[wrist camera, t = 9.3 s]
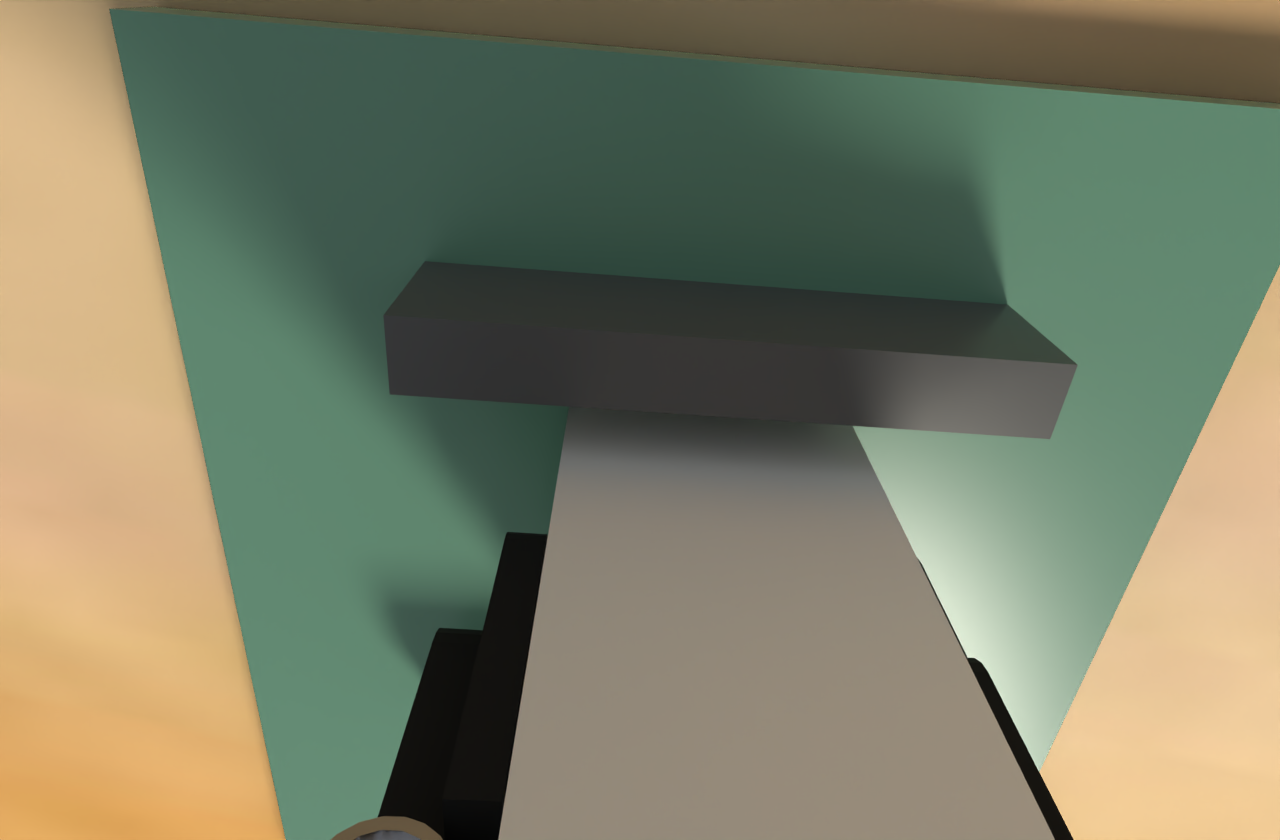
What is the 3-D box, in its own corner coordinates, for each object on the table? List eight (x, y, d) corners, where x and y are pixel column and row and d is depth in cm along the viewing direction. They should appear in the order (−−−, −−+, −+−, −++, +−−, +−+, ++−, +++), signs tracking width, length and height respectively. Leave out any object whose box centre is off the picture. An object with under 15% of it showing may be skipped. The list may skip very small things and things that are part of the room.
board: (1292, 105, 11) (1505, 143, 8) (945, 896, 19) (993, 1039, 17) (154, 6, 10) (-14, 14, 8) (316, 868, 19) (264, 1012, 16)
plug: (845, 411, 12) (1164, 1058, 5) (774, 722, 15) (899, 1391, 8) (571, 392, 12) (466, 1031, 4) (558, 710, 15) (483, 1383, 8)
